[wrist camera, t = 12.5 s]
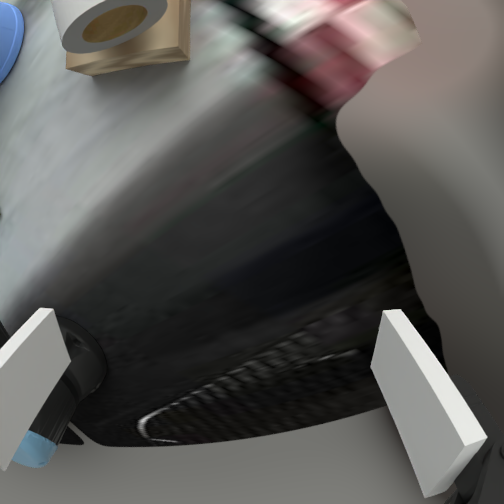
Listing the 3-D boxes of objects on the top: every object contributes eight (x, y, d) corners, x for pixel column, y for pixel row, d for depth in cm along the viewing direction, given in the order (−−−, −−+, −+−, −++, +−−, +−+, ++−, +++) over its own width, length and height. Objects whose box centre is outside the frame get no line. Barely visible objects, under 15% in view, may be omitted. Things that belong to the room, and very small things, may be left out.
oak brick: (92, 76, 33) (65, 68, 27) (98, -7, 29) (75, -25, 22) (190, 60, 33) (178, 46, 27) (192, -26, 29) (182, -51, 22)
